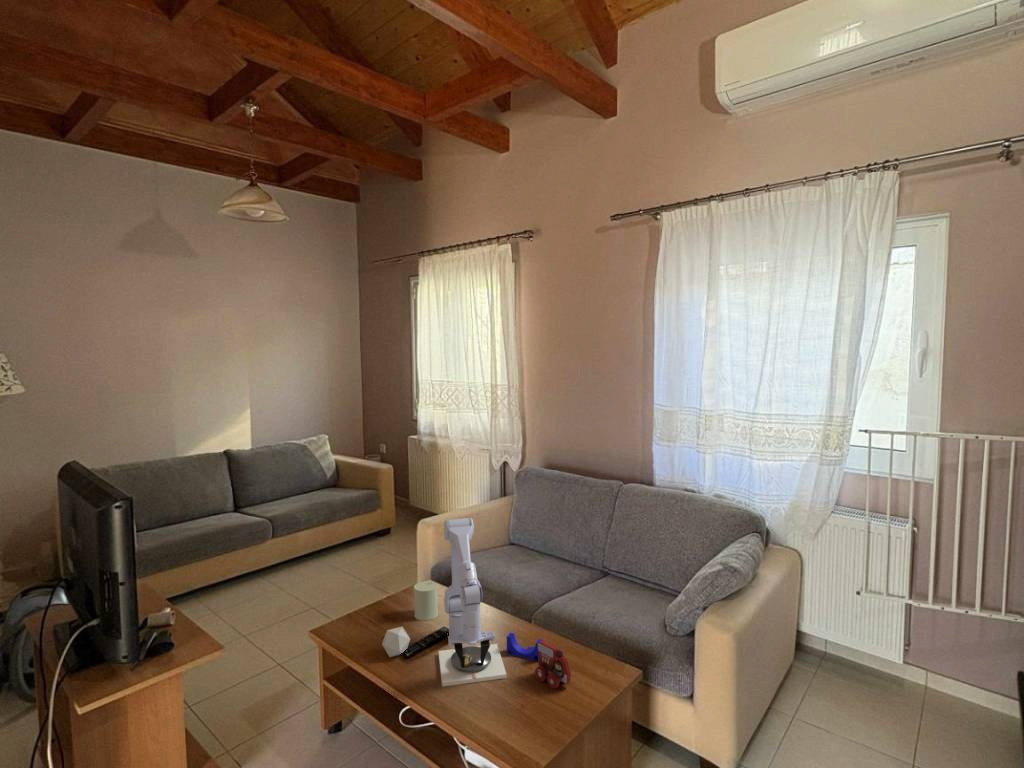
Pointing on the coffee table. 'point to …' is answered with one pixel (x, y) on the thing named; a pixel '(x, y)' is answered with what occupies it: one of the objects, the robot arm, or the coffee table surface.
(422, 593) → the can
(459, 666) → the handwheel
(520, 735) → the coffee table surface
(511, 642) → the cable clip
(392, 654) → the die
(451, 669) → the wheel base
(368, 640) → the coffee table surface
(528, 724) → the coffee table surface
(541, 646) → the toy fire truck
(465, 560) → the robot arm
